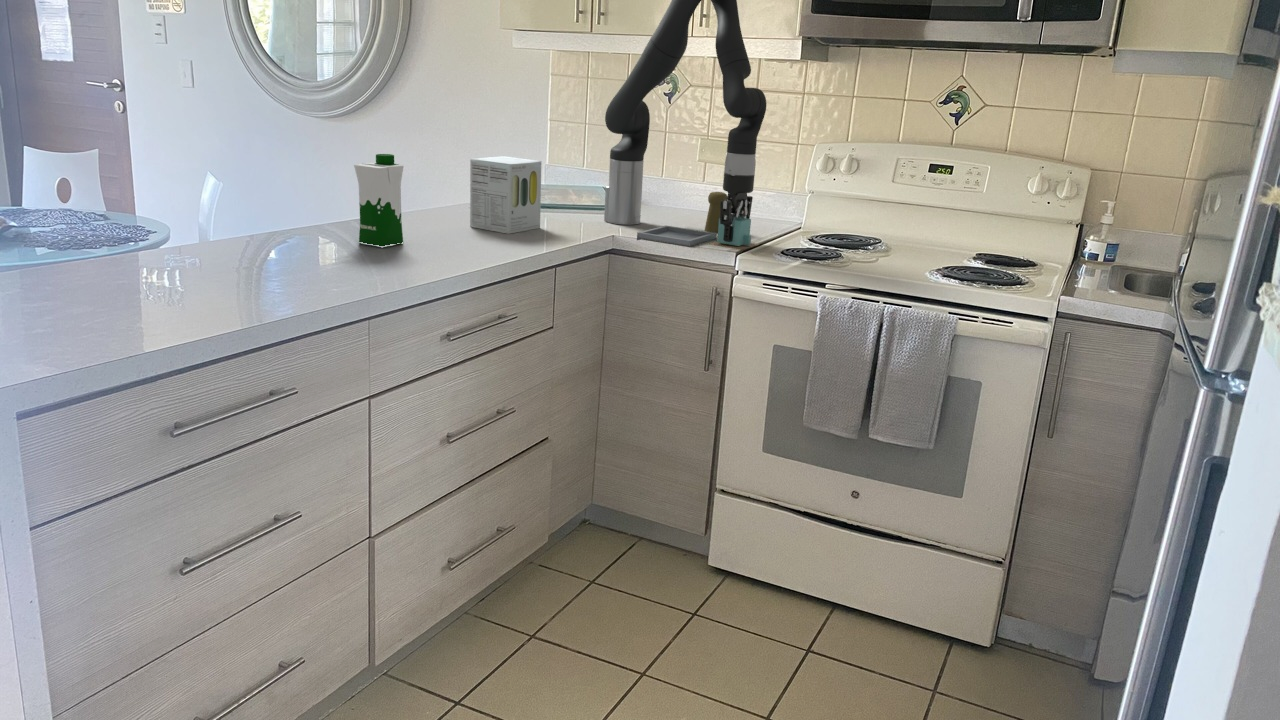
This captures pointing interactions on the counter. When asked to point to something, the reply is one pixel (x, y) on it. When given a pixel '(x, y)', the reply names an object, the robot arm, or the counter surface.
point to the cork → (714, 211)
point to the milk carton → (380, 201)
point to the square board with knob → (741, 247)
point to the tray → (676, 236)
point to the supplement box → (505, 194)
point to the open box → (737, 232)
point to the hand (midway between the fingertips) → (733, 239)
